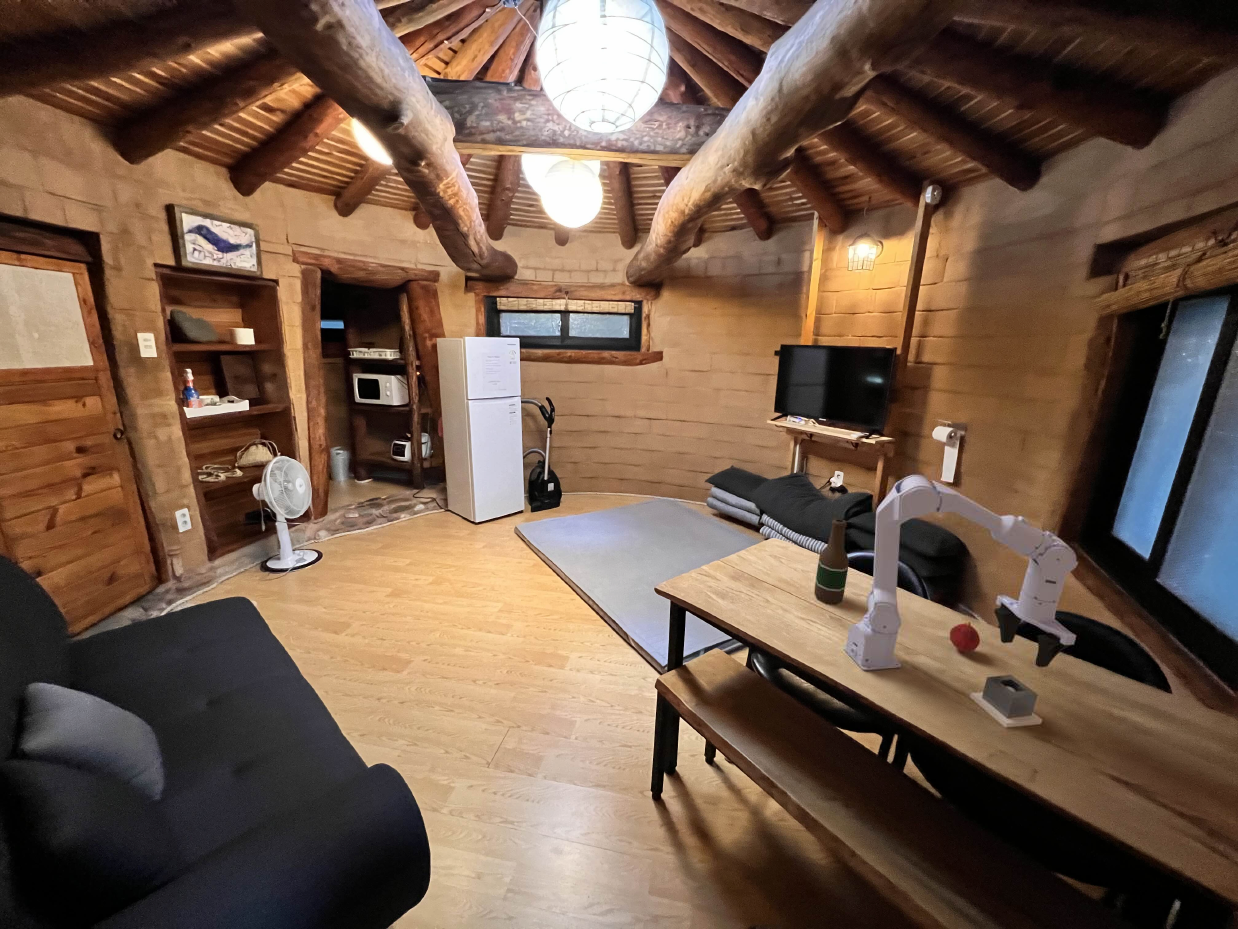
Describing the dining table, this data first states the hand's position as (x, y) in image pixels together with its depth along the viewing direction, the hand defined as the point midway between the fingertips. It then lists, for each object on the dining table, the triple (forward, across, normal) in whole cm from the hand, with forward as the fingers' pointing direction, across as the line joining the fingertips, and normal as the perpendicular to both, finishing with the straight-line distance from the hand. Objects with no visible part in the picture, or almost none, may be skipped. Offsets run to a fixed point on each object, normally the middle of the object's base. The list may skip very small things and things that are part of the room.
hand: (1023, 653), depth 98 cm
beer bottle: (+10, +40, +18) cm, 45 cm away
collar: (+9, -4, +6) cm, 11 cm away
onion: (+10, +14, -1) cm, 17 cm away
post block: (+10, -4, +6) cm, 12 cm away
